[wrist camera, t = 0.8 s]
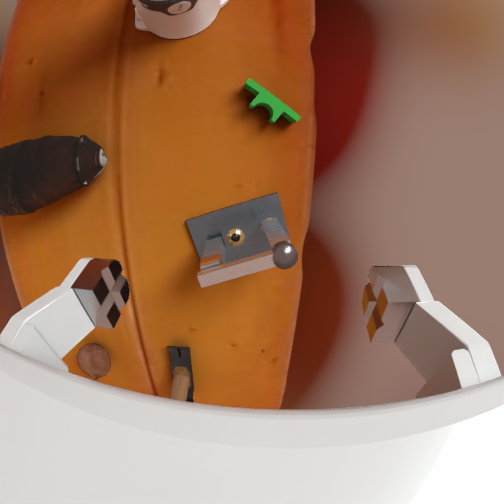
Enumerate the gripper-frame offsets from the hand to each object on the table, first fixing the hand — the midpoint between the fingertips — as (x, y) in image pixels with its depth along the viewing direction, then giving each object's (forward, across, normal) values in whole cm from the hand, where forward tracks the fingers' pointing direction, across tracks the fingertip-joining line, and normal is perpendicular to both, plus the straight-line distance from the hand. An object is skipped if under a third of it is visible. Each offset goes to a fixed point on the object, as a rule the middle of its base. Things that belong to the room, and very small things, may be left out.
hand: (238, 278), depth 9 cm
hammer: (+28, +22, +58) cm, 68 cm away
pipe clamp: (+47, +1, +1) cm, 47 cm away
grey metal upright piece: (+38, +6, +24) cm, 46 cm away
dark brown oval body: (+38, +42, +6) cm, 57 cm away
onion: (+25, +45, +52) cm, 73 cm away
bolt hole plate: (+39, +6, +24) cm, 46 cm away
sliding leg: (+37, +11, +25) cm, 46 cm away
